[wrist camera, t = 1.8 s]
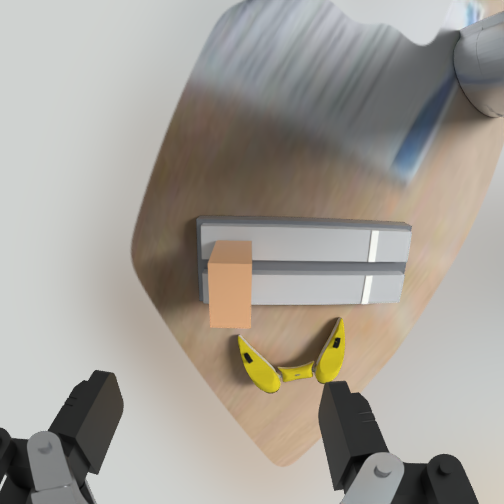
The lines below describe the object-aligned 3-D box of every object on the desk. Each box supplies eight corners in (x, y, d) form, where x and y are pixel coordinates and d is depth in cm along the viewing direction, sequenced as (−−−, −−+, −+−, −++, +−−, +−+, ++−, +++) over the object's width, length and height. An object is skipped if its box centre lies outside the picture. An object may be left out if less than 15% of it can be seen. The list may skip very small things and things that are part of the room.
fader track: (202, 293, 27) (197, 306, 25) (199, 215, 25) (194, 222, 23) (392, 293, 27) (403, 305, 25) (404, 222, 25) (417, 229, 23)
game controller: (250, 388, 30) (247, 401, 26) (239, 331, 30) (235, 338, 27) (344, 372, 29) (352, 383, 26) (337, 314, 30) (345, 319, 26)
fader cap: (218, 288, 25) (210, 327, 19) (218, 236, 24) (207, 263, 18) (250, 289, 25) (250, 328, 19) (251, 237, 24) (252, 264, 18)
